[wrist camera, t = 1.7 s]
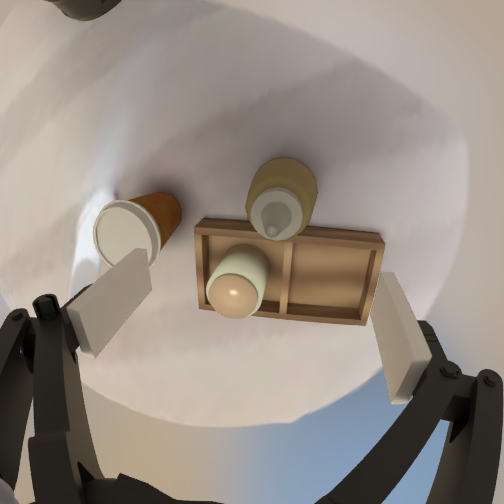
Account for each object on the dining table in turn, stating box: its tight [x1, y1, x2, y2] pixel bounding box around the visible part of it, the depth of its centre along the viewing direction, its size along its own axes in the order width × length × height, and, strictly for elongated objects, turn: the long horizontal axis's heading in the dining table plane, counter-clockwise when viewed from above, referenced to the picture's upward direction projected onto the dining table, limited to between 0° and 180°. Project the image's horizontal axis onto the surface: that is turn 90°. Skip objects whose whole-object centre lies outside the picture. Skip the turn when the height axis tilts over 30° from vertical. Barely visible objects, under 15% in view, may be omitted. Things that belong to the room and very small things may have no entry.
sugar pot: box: [206, 244, 270, 319], centre depth 40 cm, size 7×7×9 cm
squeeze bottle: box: [246, 158, 318, 241], centre depth 31 cm, size 8×8×18 cm
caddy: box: [194, 218, 385, 326], centre depth 42 cm, size 13×25×4 cm, turn 89°
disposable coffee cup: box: [93, 192, 182, 269], centre depth 39 cm, size 10×10×12 cm
